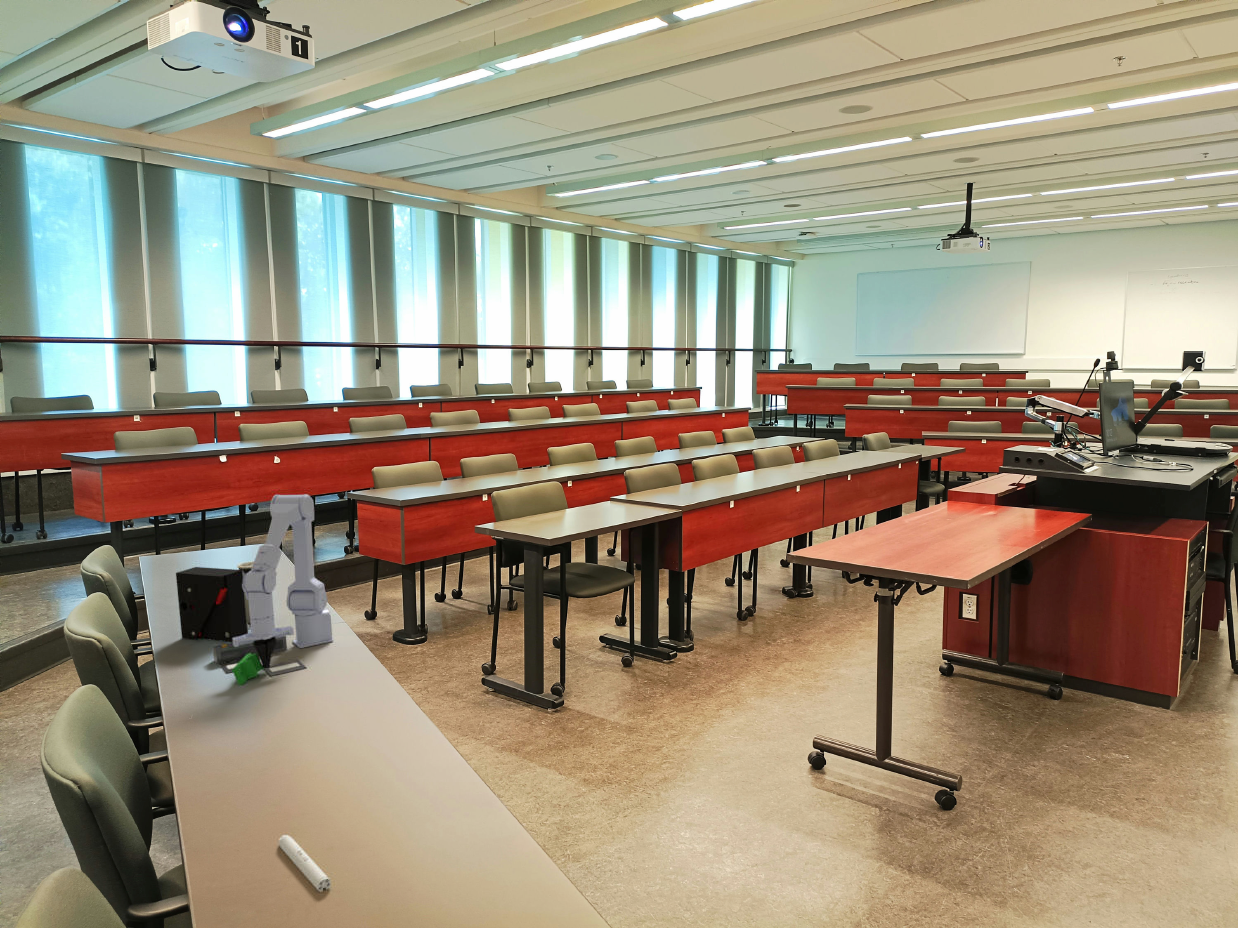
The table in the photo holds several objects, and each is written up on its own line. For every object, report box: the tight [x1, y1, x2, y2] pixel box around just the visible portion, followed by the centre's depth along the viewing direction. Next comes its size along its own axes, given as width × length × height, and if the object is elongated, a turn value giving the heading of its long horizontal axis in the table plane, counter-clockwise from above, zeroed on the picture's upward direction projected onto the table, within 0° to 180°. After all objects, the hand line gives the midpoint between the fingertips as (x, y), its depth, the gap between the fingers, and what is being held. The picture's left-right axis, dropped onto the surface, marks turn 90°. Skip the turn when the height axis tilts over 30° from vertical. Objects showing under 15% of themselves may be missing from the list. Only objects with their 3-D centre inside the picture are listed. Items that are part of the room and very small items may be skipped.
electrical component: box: [175, 566, 251, 643], centre depth 247 cm, size 18×10×20 cm, turn 71°
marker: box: [278, 834, 332, 893], centre depth 131 cm, size 18×2×2 cm, turn 42°
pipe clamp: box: [232, 653, 264, 686], centre depth 214 cm, size 11×4×5 cm, turn 6°
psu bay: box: [212, 636, 288, 665], centre depth 230 cm, size 18×5×4 cm, turn 126°
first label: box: [219, 660, 241, 674], centre depth 222 cm, size 7×8×1 cm
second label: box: [262, 659, 307, 677], centre depth 219 cm, size 9×8×1 cm
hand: (266, 666), depth 217 cm, fingers closed
